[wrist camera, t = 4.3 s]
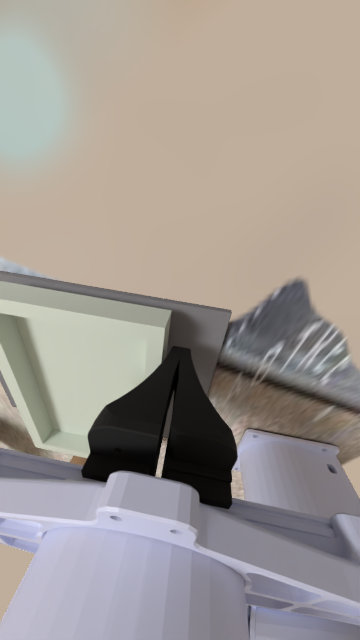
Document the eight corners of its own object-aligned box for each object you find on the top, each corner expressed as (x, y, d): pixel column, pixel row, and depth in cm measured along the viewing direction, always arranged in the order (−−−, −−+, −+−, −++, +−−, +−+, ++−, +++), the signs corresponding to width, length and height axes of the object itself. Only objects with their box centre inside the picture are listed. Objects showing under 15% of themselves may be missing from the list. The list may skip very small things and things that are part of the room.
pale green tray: (174, 303, 14) (165, 328, 10) (157, 436, 22) (149, 471, 19) (16, 276, 14) (-36, 292, 11) (58, 416, 22) (35, 447, 19)
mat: (230, 310, 14) (231, 313, 13) (193, 438, 22) (192, 443, 22) (-49, 262, 15) (-56, 264, 14) (16, 402, 23) (12, 406, 23)
